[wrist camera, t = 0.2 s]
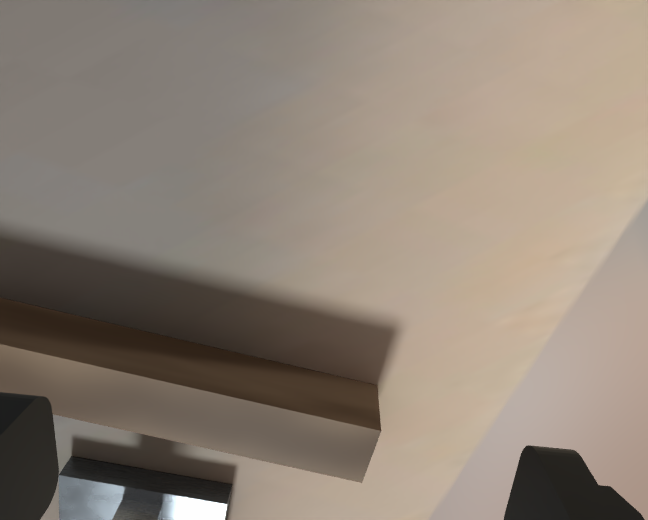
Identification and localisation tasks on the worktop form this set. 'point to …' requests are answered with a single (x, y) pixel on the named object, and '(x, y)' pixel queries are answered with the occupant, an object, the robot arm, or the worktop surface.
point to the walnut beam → (189, 391)
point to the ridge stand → (136, 494)
